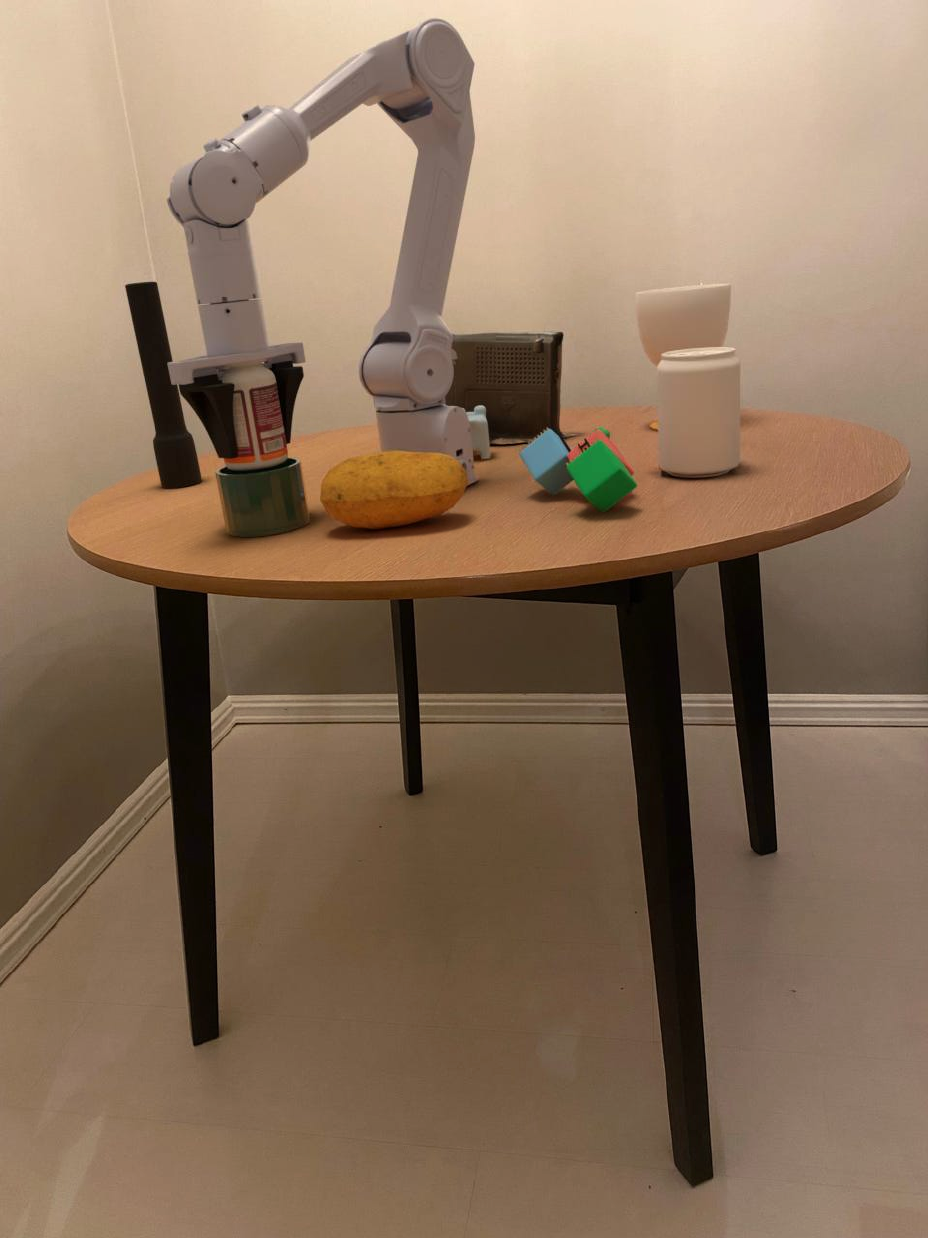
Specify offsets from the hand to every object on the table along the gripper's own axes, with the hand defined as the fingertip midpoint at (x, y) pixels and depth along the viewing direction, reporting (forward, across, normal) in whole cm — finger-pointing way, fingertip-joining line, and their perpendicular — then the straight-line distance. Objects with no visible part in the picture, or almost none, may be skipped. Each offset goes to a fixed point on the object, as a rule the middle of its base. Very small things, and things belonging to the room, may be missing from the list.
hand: (255, 450), depth 90 cm
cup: (+8, -57, +17) cm, 60 cm away
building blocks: (+8, -17, +26) cm, 31 cm away
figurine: (+8, -34, 0) cm, 34 cm away
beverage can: (+8, -32, +31) cm, 45 cm away
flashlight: (+8, -11, -29) cm, 32 cm away
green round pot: (+8, 0, 0) cm, 8 cm away
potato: (+8, -4, +13) cm, 16 cm away
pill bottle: (+2, 0, 0) cm, 2 cm away
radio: (+8, -44, -5) cm, 45 cm away
